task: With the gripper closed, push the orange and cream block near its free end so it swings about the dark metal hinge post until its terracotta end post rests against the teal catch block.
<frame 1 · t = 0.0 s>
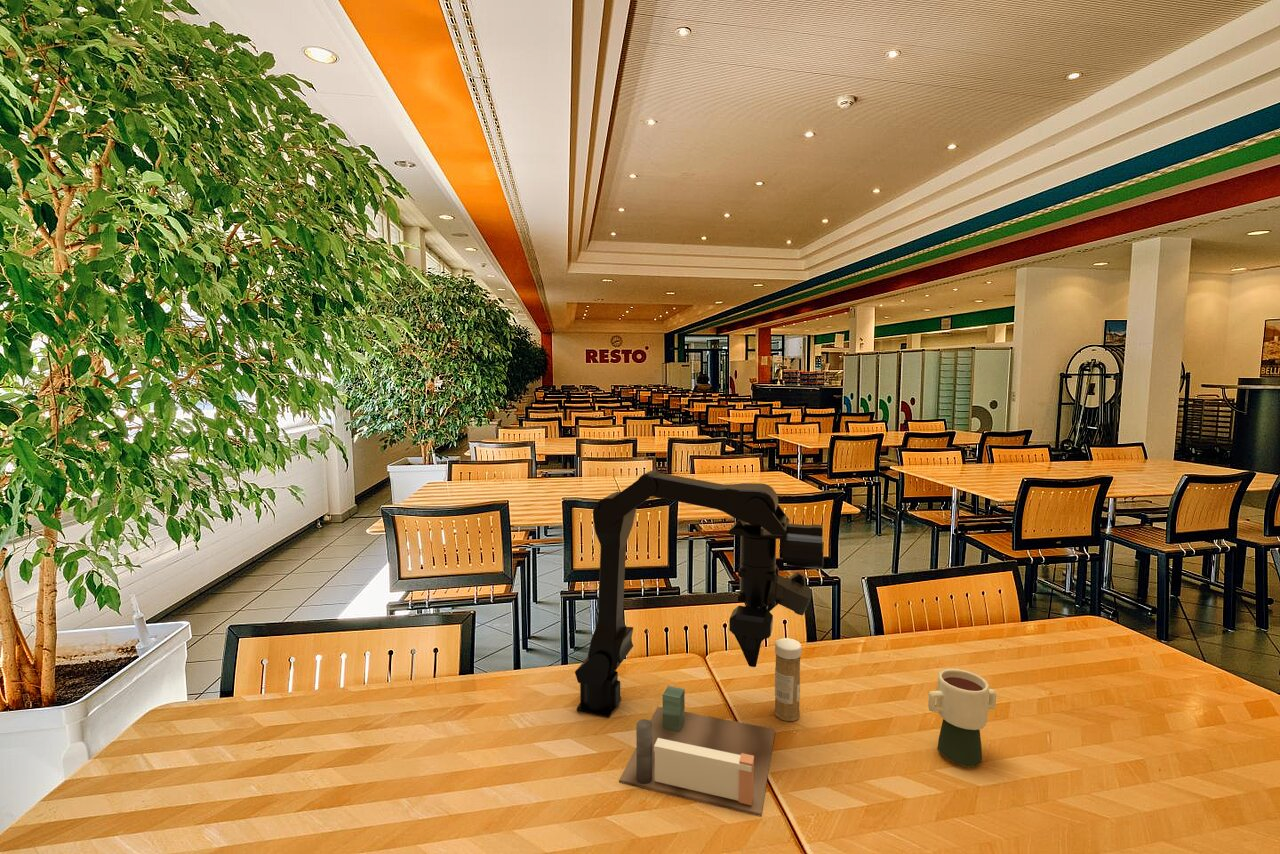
hand: (756, 653, 96), 15 cm above the table, tool pointing down, fingers open, 9 cm apart
sprinkles bottle: (786, 715, 103), on the table
character mug: (958, 758, 92), on the table
orange and cream block: (703, 769, 84), point 4 cm above the table, hinge at 0.0°
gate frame: (702, 755, 93), on the table
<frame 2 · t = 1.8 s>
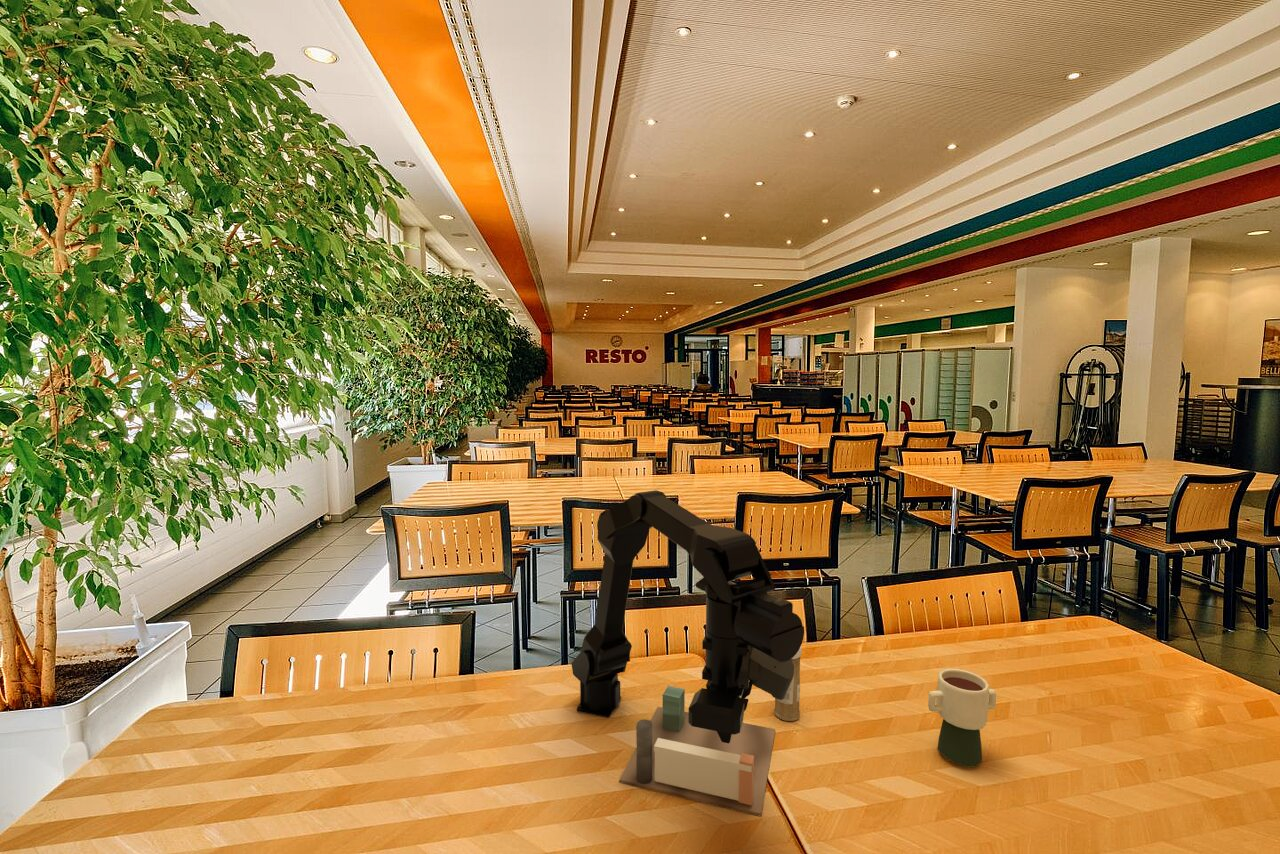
hand: (726, 741, 77), 12 cm above the table, tool pointing down, fingers closed
nothing on the table moved.
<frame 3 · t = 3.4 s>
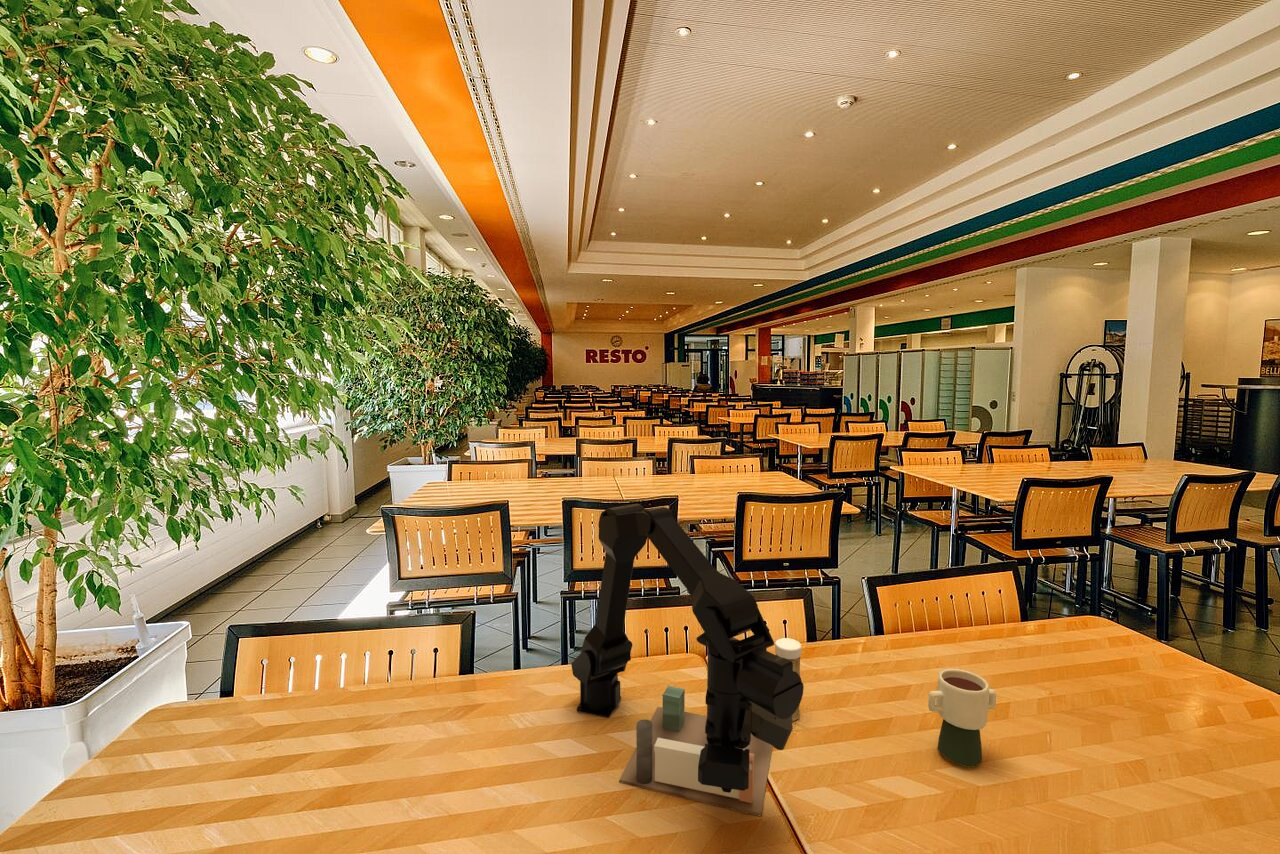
hand: (726, 790, 80), 3 cm above the table, tool pointing down, fingers closed
orange and cream block: (703, 768, 84), point 4 cm above the table, hinge at 1.6°, touching gripper
everything else where it was.
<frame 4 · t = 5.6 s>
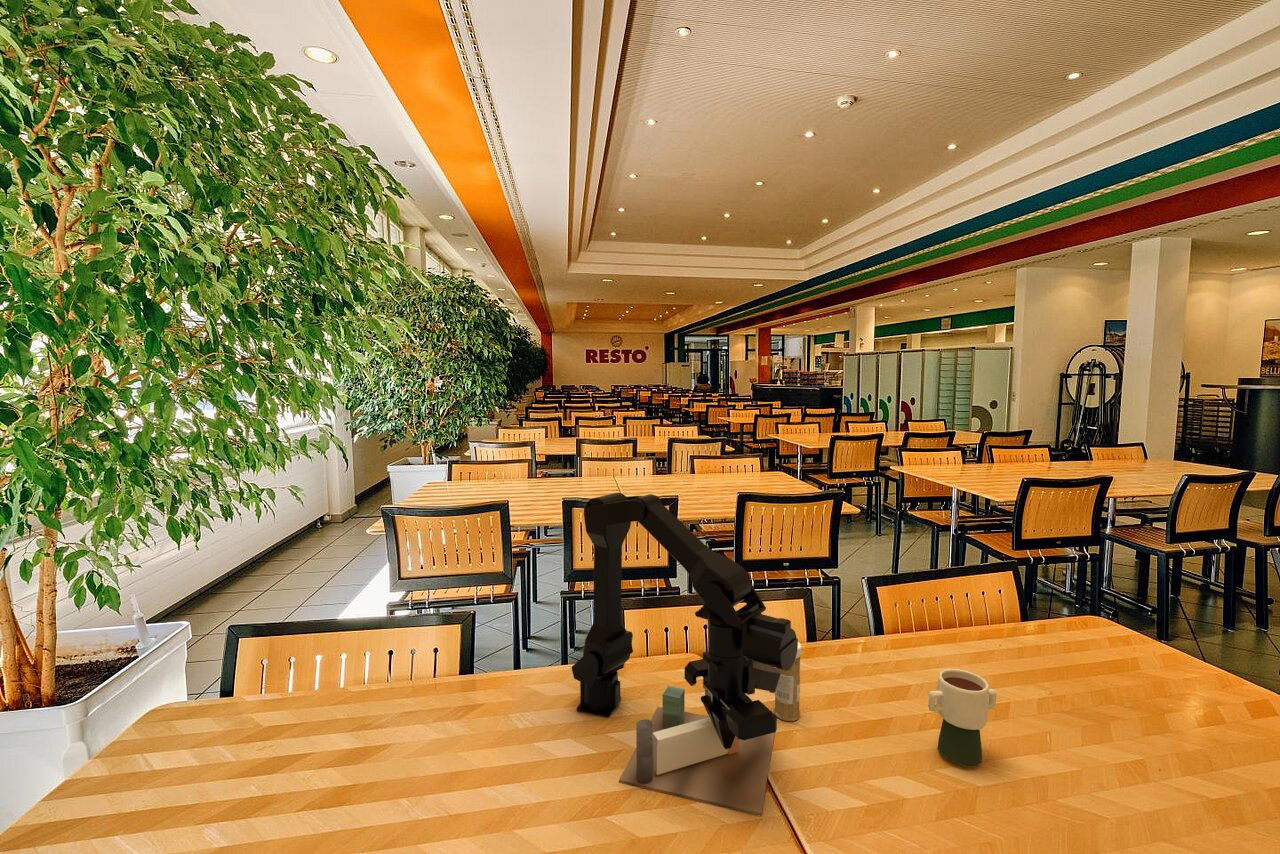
hand: (727, 747, 89), 4 cm above the table, tool pointing down, fingers closed
orange and cream block: (696, 741, 90), point 4 cm above the table, hinge at 41.9°, touching gripper
everything else where it was.
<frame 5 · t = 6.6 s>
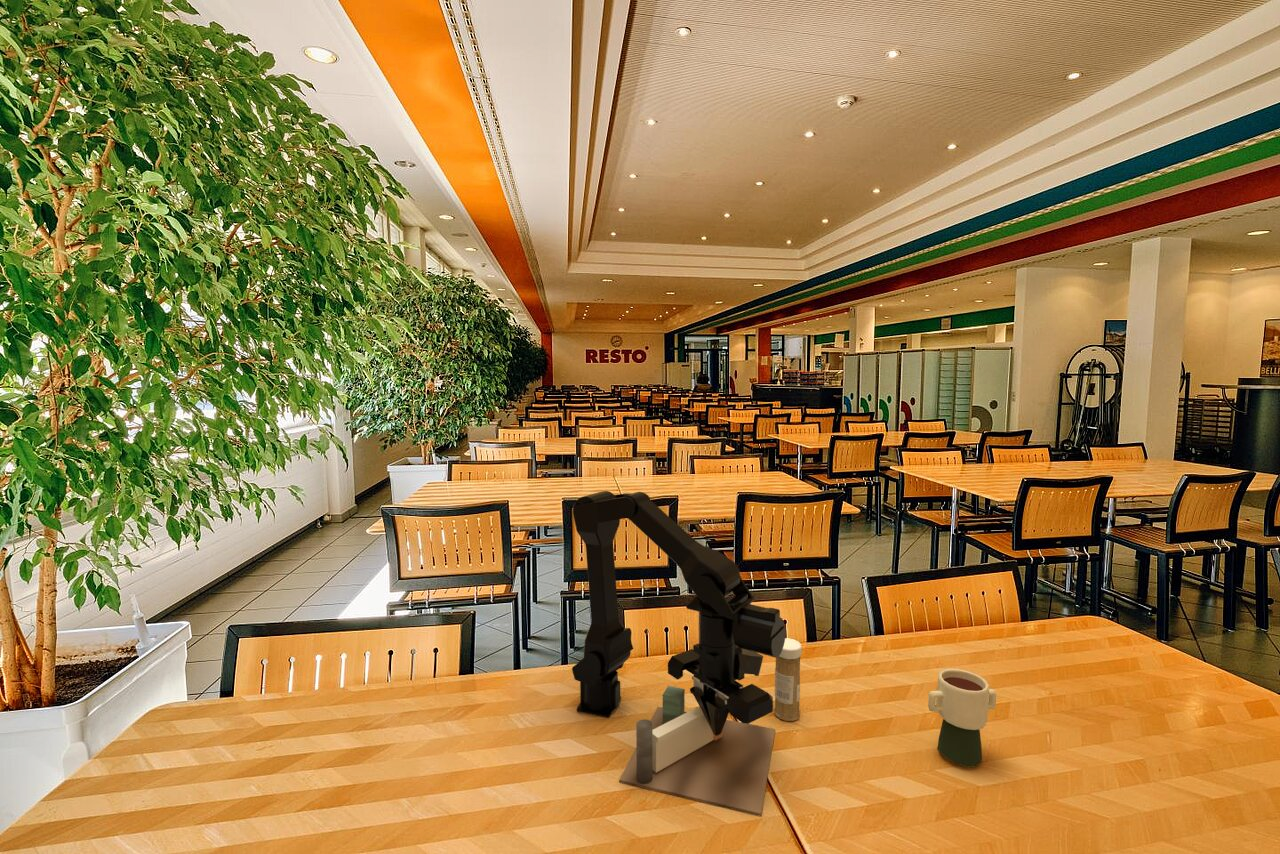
hand: (717, 734, 92), 4 cm above the table, tool pointing down, fingers closed
orange and cream block: (687, 732, 92), point 4 cm above the table, hinge at 57.4°, touching gripper
everything else where it was.
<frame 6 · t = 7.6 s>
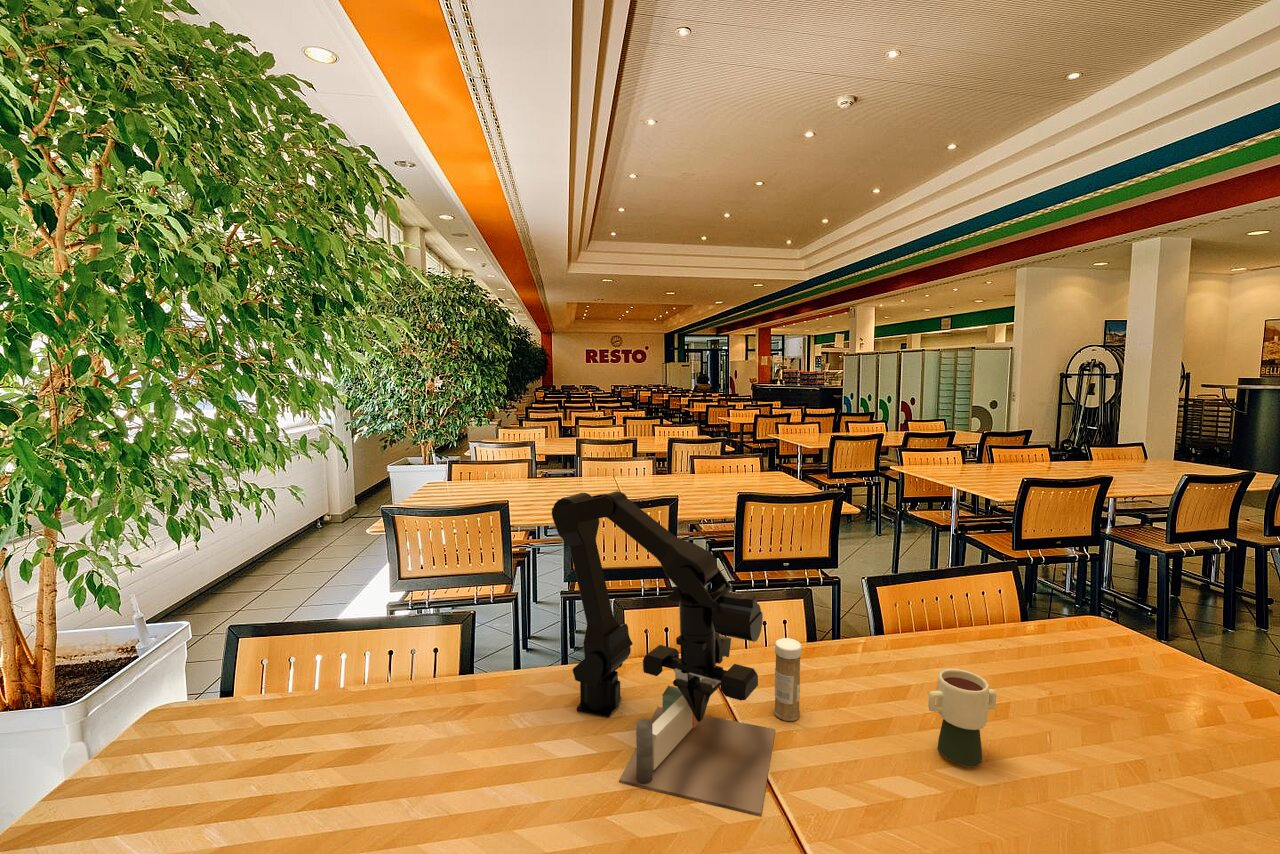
hand: (699, 720, 96), 4 cm above the table, tool pointing down, fingers closed
orange and cream block: (673, 725, 94), point 4 cm above the table, hinge at 75.6°, touching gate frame, gripper
everything else where it was.
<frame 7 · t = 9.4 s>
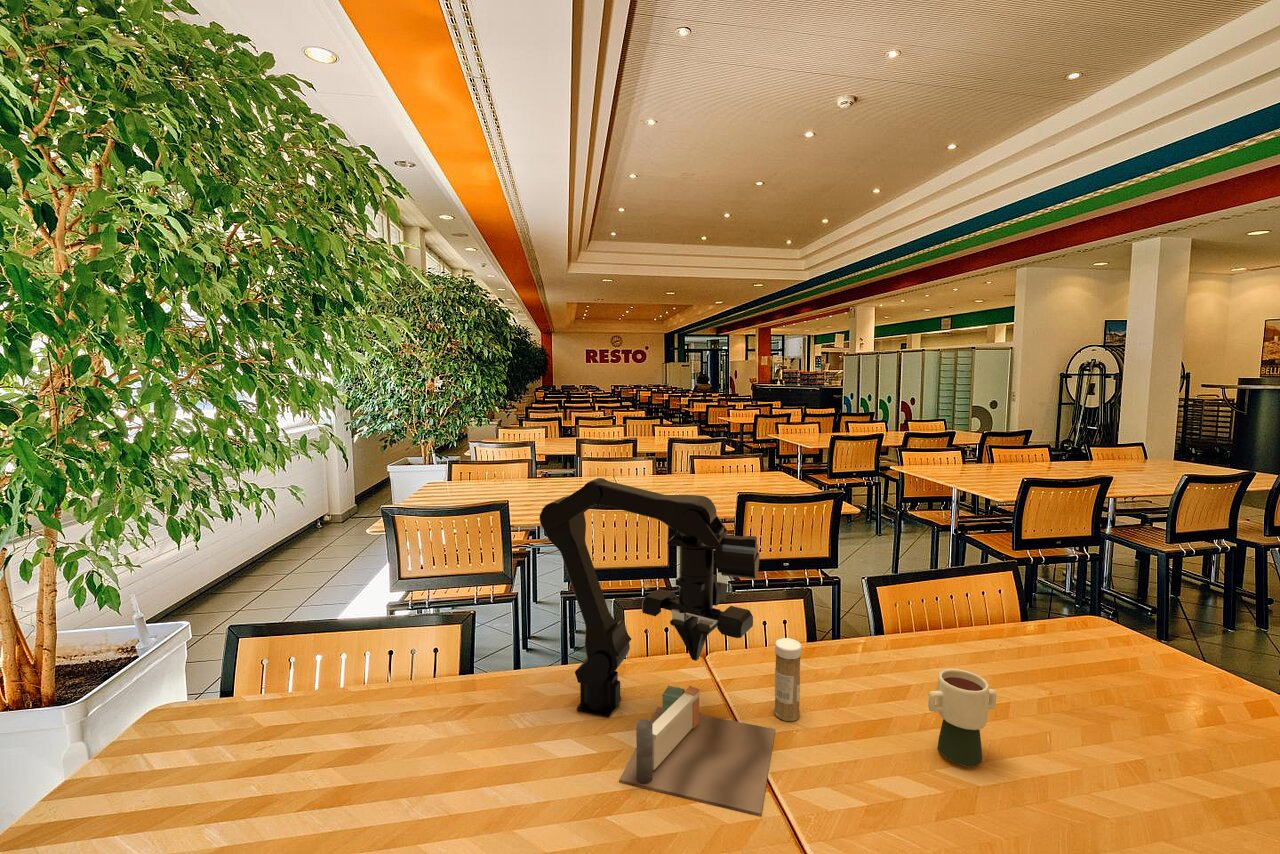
hand: (695, 659, 99), 12 cm above the table, tool pointing down, fingers closed
orange and cream block: (673, 725, 94), point 4 cm above the table, hinge at 75.6°, touching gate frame
everything else where it was.
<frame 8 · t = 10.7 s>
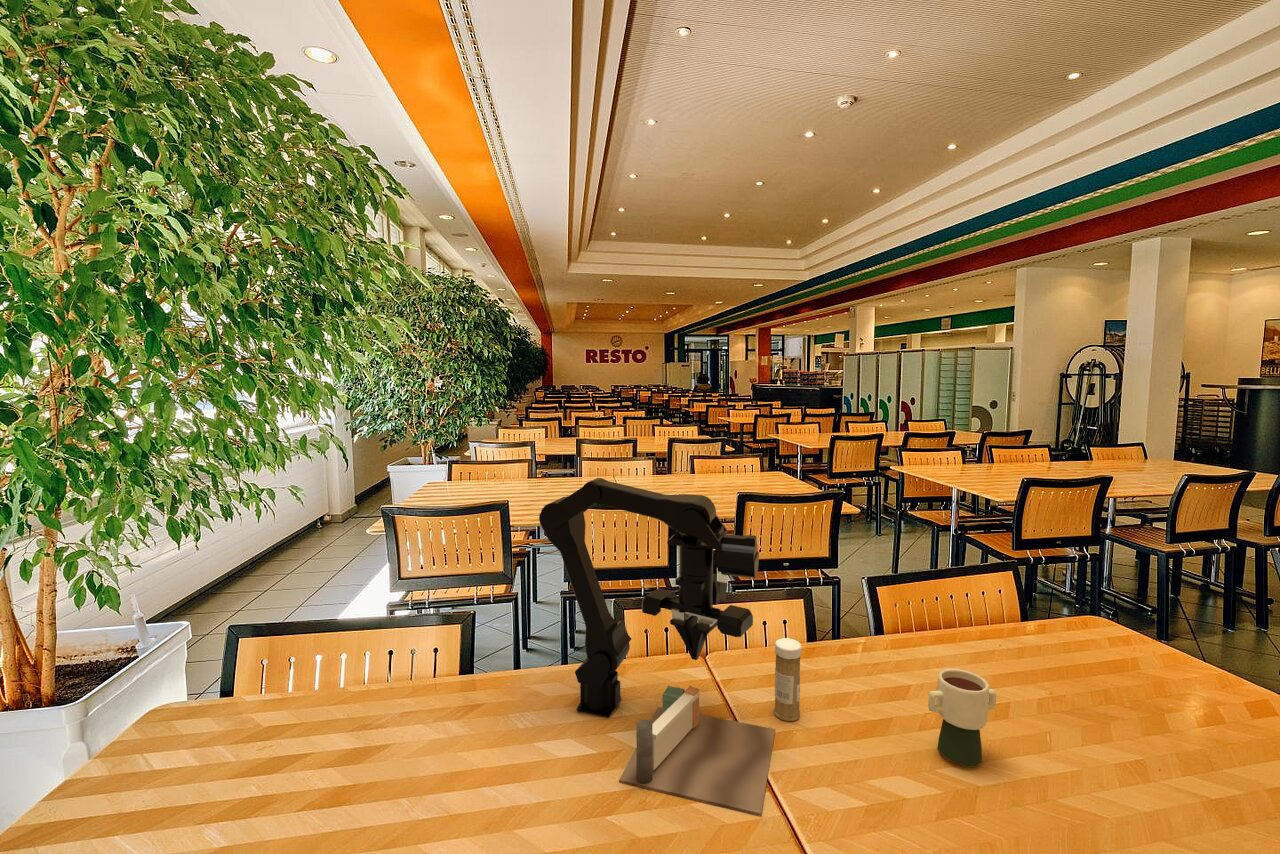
hand: (695, 658, 99), 12 cm above the table, tool pointing down, fingers closed
nothing on the table moved.
at the end: orange and cream block at +76° (first picture: +0°); sprinkles bottle moved 0.2 cm from its start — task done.
